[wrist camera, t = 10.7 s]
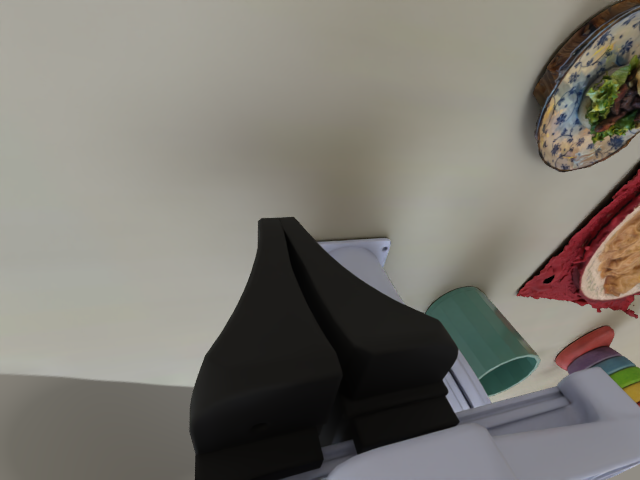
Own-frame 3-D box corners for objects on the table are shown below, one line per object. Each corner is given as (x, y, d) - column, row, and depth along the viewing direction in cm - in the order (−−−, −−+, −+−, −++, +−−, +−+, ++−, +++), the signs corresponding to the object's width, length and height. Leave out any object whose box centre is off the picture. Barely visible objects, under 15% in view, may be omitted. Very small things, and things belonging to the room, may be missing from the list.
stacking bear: (601, 347, 62) (708, 449, 48) (551, 371, 63) (643, 476, 49) (610, 321, 55) (739, 431, 41) (555, 348, 56) (663, 464, 42)
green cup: (466, 325, 42) (515, 390, 36) (415, 333, 40) (456, 404, 33) (493, 283, 38) (555, 349, 31) (436, 290, 36) (489, 362, 29)
